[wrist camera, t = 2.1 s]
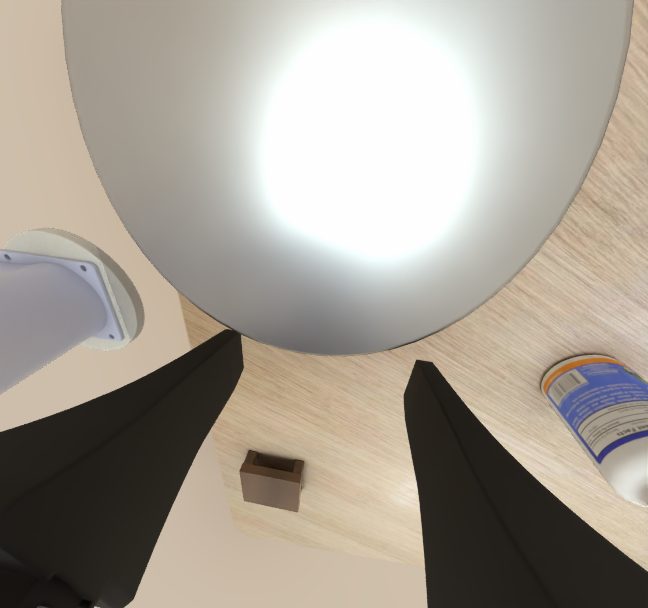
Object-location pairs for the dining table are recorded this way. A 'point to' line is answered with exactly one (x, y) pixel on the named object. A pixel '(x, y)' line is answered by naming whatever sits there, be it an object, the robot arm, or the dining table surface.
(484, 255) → the can
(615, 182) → the dining table surface
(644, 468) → the pill bottle
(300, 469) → the stool
